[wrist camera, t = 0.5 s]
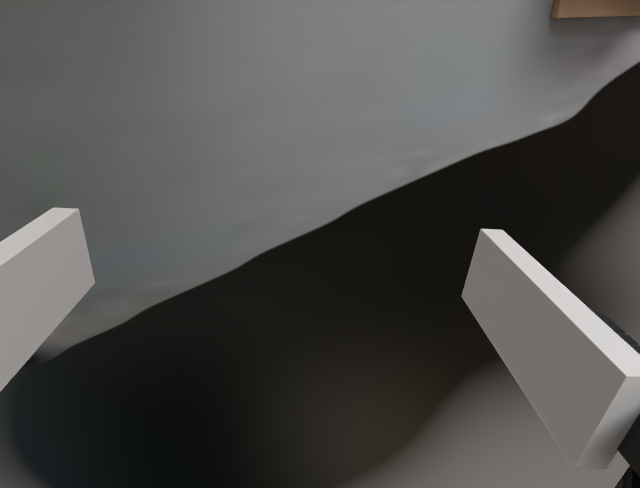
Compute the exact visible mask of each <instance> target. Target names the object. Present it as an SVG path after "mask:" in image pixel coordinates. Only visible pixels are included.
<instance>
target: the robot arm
mask: <svg viewBox="0 0 640 488" xmlns="http://www.w3.org/2000/svg"><path fill="white" fill-rule="evenodd" d="M94 283H95V281H94V276H93V272H92V267H91V262H90V258H89V253H88V249H87V244H86V240H85V235H84V231H83V226H82V222H81V217H80V213H79V209H71V208H52V209H50V210H49V211H47V212H46V213H44V214H43V215H41V216H40V217H38V218H37V219H35V220H33V221H32V222H30V223H29V224H27V225H26V226H24V227H23V228H21V229H20V230H18V231H17V232H15V233H13V234H12V235H10V236H9V237H7V238H6V239H4V240H3V241H1V242H0V391H1V390H2V389H3V388H4V387H5V385H6V384H7V383H8V382H9V381H10V380H11V378H12V377H13V376H14V375H15V374H16V373H17V372H18V371H19V369H20V368H21V367H22V366H23V365H24V364H25V363H26V361H27V360H28V359H29V358H30V357H31V356H32V354H33V353H34V352H35V351H36V350H37V349H38V348H39V346H40V345H41V344H42V343H43V342H44V341H45V340H46V338H47V337H48V336H49V335H50V334H51V333H52V332H53V330H54V329H55V328H56V327H57V326H58V325H59V324H60V322H61V321H62V320H63V319H64V318H65V317H66V315H67V314H68V313H69V312H70V311H71V310H72V309H73V307H74V306H75V305H76V304H77V303H78V302H79V301H80V299H81V298H82V297H83V296H84V295H85V294H86V293H87V291H88V290H89V289H90V288H91V287H92V286H93V285H94ZM462 298H463V299H464V301H465V302H466V304H467V305H468V307H469V309H470V310H471V312H472V313H473V315H474V316H475V318H476V319H477V321H478V322H479V324H480V325H481V327H482V329H483V330H484V332H485V333H486V335H487V336H488V338H489V340H490V341H491V342H492V344H493V346H494V347H495V349H496V350H497V352H498V353H499V355H500V356H501V358H502V360H503V361H504V363H505V364H506V366H507V367H508V369H509V371H510V372H511V374H512V375H513V377H514V378H515V380H516V381H517V383H518V384H519V386H520V388H521V389H522V391H523V392H524V394H525V395H526V397H527V398H528V400H529V402H530V403H531V404H532V406H533V408H534V409H535V411H536V412H537V414H538V415H539V417H540V419H541V420H542V422H543V423H544V425H545V426H546V428H547V429H548V431H549V433H550V434H551V435H552V437H553V439H554V440H555V442H556V443H557V445H558V446H559V448H560V449H561V451H562V453H563V454H564V456H565V457H566V459H567V460H568V462H569V463H570V465H571V467H572V468H573V469H606V468H607V467H608V465H609V464H610V462H611V460H612V459H613V457H614V456H615V454H616V453H617V451H619V452H620V453H621V455H622V456H623V457H624V458H625V460H626V461H627V462H628V464H629V465H630V466H629V468H628V469H627V470H626V472H625V473H624V475H623V476H622V478H621V479H620V481H619V482H618V484H617V485H616V487H615V488H640V346H638V343H637V342H636V341H635V340H633V339H632V338H631V337H630V336H629V335H625V332H624V331H623V330H622V329H621V328H620V327H619V326H618V325H616V324H615V323H614V322H613V321H612V320H611V319H609V318H608V317H606V316H604V315H603V314H601V313H599V312H598V311H596V310H594V309H593V308H591V307H589V306H586V305H585V304H583V303H582V302H581V301H580V300H579V299H578V298H577V297H576V296H575V295H574V294H572V293H571V292H570V291H569V290H568V289H567V288H566V287H565V286H564V285H563V284H561V283H560V282H559V281H558V280H557V279H556V278H555V277H554V276H553V275H551V274H550V273H549V272H548V271H547V270H546V269H545V268H544V267H543V266H542V265H540V264H539V263H538V262H537V261H536V260H535V259H534V258H533V257H532V256H531V255H529V254H528V253H527V252H526V251H525V250H524V249H523V248H522V247H521V246H520V245H518V244H517V243H516V242H515V241H514V240H513V239H512V238H511V237H510V236H508V235H507V234H506V233H505V232H504V231H503V230H492V229H481V230H480V233H479V237H478V240H477V244H476V247H475V251H474V254H473V258H472V261H471V265H470V268H469V273H468V276H467V279H466V283H465V286H464V290H463V293H462Z"/></svg>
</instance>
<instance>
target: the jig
mask: <svg viewBox="0 0 640 488" xmlns="http://www.w3.org/2000/svg"><path fill="white" fill-rule="evenodd" d="M621 16H640V0H554V4H553V9H552V14H551V18H586V17H621Z"/></svg>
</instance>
